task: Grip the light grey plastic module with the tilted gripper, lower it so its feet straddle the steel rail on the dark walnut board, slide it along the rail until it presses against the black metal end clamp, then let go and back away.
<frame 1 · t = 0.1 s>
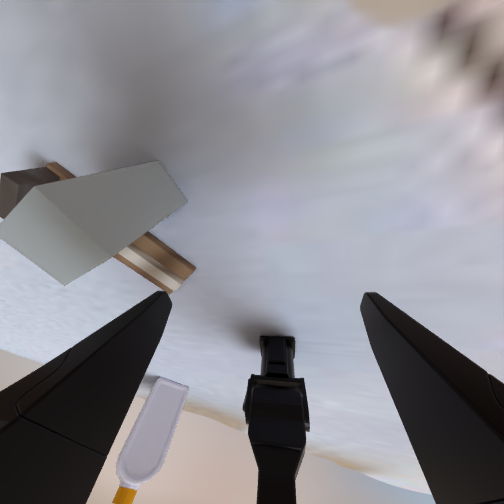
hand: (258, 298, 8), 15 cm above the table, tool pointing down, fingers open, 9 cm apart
soap bottle: (172, 384, 52), on the table
rail board: (125, 237, 26), on the table
module: (156, 194, 22), on the table
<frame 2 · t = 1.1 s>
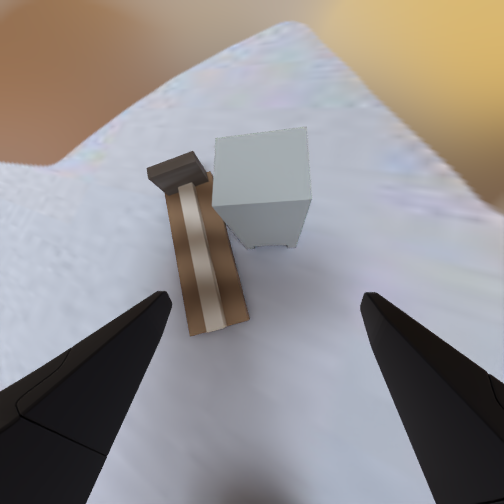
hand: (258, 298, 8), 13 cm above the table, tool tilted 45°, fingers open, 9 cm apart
rail board: (204, 248, 24), on the table
module: (270, 229, 23), on the table
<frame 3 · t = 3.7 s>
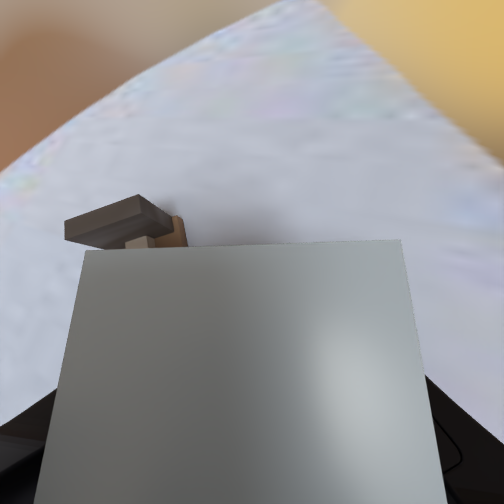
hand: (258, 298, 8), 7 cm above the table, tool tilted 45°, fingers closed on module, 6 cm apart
rail board: (164, 338, 15), on the table
module: (268, 313, 14), on the table, touching gripper
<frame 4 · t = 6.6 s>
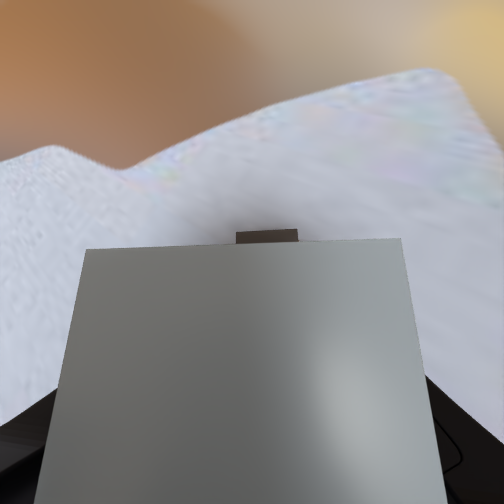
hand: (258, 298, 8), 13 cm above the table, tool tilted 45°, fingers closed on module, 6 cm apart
rail board: (271, 329, 21), on the table
module: (268, 313, 14), point 7 cm above the table, touching gripper
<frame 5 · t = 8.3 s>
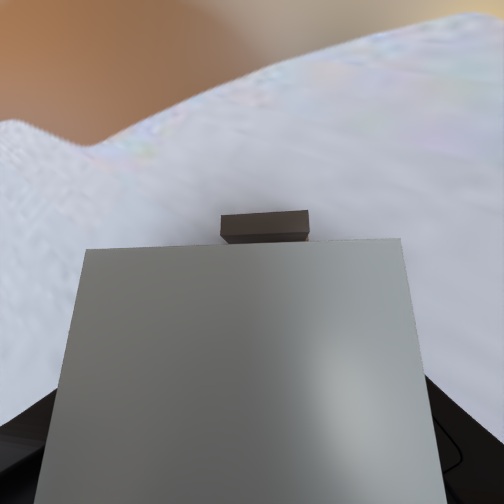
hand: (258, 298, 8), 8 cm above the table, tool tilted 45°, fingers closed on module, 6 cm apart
rail board: (269, 349, 15), on the table
module: (268, 313, 14), point 1 cm above the table, touching gripper
when the fingers open (8 cm above the table, at t = 9.6 s): module stays where it is, resting on rail board.
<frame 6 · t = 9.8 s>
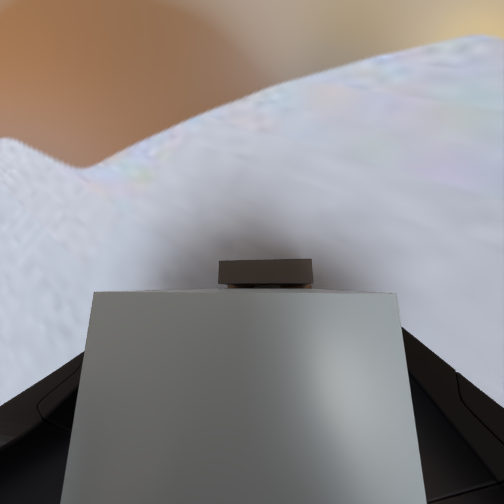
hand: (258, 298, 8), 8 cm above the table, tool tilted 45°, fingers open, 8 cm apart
rail board: (270, 394, 15), on the table
module: (268, 319, 15), point 1 cm above the table, touching rail board
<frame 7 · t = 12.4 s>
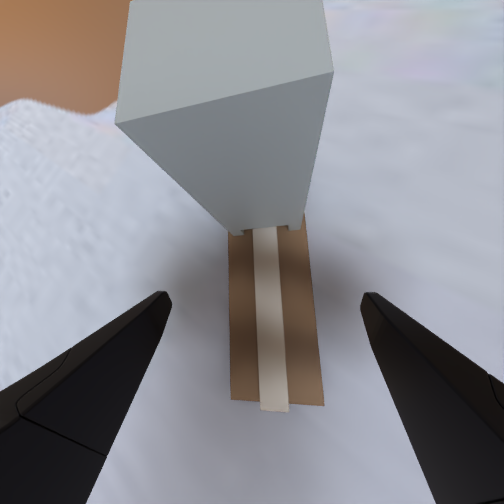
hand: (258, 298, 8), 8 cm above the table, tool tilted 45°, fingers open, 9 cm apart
rail board: (268, 270, 17), on the table
module: (264, 206, 17), point 1 cm above the table, touching rail board
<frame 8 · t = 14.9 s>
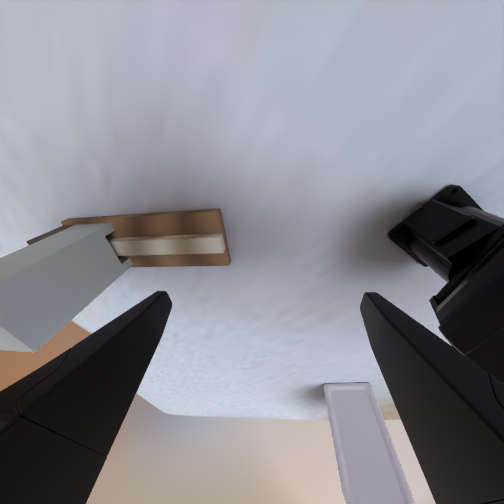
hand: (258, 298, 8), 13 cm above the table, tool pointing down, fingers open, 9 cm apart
soap bottle: (346, 387, 39), on the table
rail board: (150, 240, 23), on the table
module: (105, 245, 23), point 1 cm above the table, touching rail board
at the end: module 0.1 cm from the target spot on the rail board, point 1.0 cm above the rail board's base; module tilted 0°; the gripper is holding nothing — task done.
